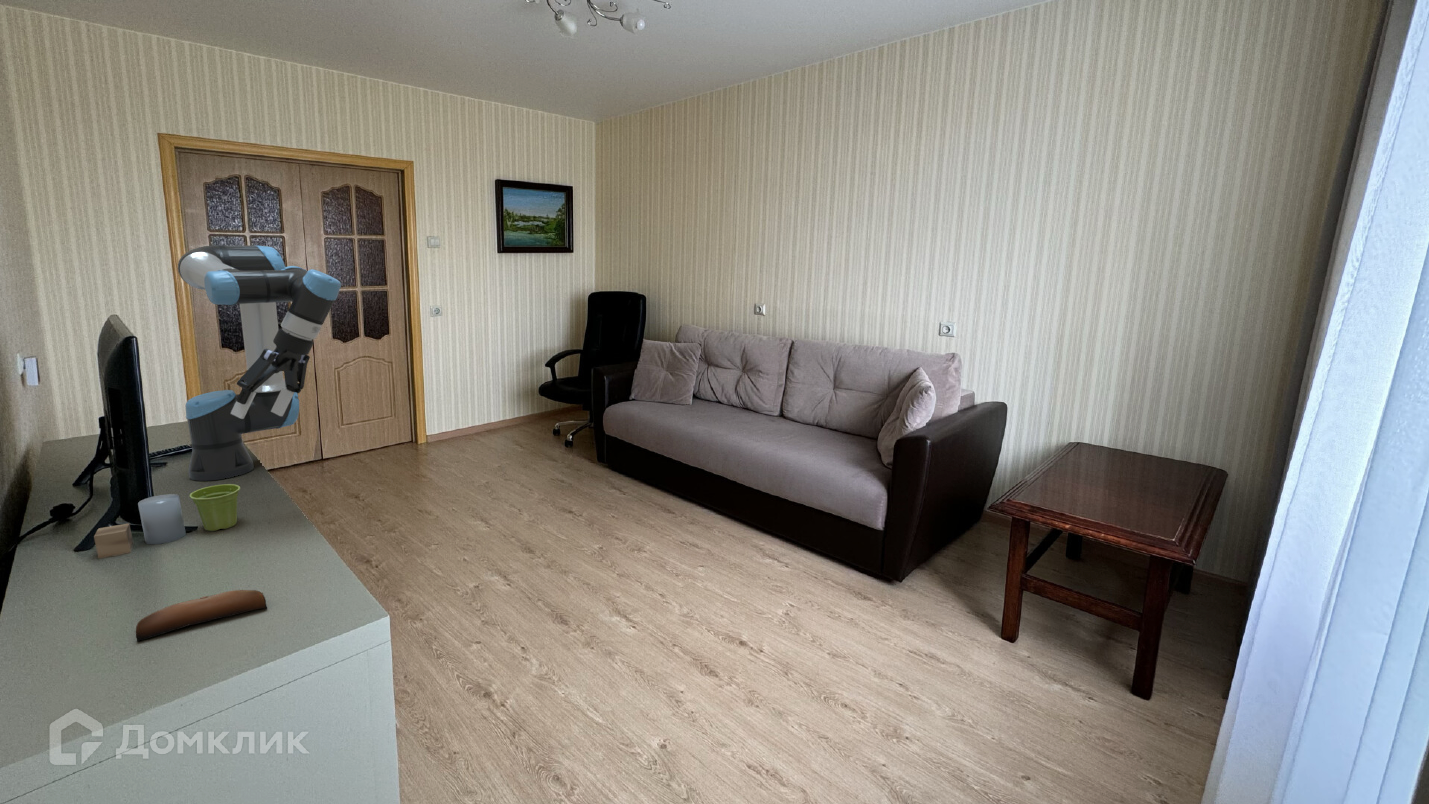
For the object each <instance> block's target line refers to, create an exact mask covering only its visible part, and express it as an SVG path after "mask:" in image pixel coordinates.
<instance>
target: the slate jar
mask: <svg viewBox="0 0 1429 804" xmlns="http://www.w3.org/2000/svg"><path fill="white" fill-rule="evenodd" d="M137 506H138V511H139V516H140V520H141V526H142V530H143V536H144V540H145V541H144V542H145V543H146V544H147V545H159V544H160V545H162V544H166V543H170V542H174V541H178V540H179V539H182V538H184V537H185V536H186V534H187V533H186V529H185V528H186V527H185V521H184V516H183V511H182V505H181V500H180V495H179V494H176V493H175V494H174V493H169V494H160V495H154V496H149V497H147V498H144V499H142V500H139V502H138V503H137Z"/></svg>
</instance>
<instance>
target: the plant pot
mask: <svg viewBox="0 0 1429 804" xmlns="http://www.w3.org/2000/svg"><path fill="white" fill-rule="evenodd" d="M240 491H241V486H240V485H238V484H232V483H227V484H226V483H225V484H216V485H210V486H206V487H202V488H199V489H197V490H195V491H192V492H191V493H190V494H189V498H190V499H191V500H192V501H193V503H194V504H195V506H196V508H197V511H198V513H199V517H200V520H201V524H202V525H203V528H204V530H205V531H209V532H210V531H211V532H212V531H214V532H215V531H218V530H220V529H223V530H225V529H230V528H232V527H235V525H237V521H238V520H237V519H238V518H237V517H238V512H237V511H238V510H237V509H238V496H239V492H240Z"/></svg>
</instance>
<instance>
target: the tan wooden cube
mask: <svg viewBox="0 0 1429 804" xmlns="http://www.w3.org/2000/svg"><path fill="white" fill-rule="evenodd" d="M93 539H94V543H95V544H94V545H95V547H96V551H97V558H98V559H103V558H109V556H110V557H115V556H121V555H125V554H124V553H126V554H130V553H131V551H132V549H133V547H134V540H133V539H134V538H133V535H132V529H131V525H130V523H124V524H118V525H110V526H105V527H100V528H98V529H97V530H96V532H95V534H94V536H93Z"/></svg>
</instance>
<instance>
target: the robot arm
mask: <svg viewBox="0 0 1429 804" xmlns="http://www.w3.org/2000/svg"><path fill="white" fill-rule="evenodd" d="M177 271H178V274H179V277H180V278H181V279H182V281H183V282H184V283H186V284H188V286H190V287H193V288H195V289H198V290H203V291H204V290H205V294H206V296H207V298H208V300H209V302H210V303H211V304H214V305H226V306H233V305H239V310H240V319H241V328H242V336H243V337H242V338H243V344H244V353H245V362H246V371H245V373H244V374H242V376H241V377H240V378H239V379H238V380H237V381H236V386H238V387H239V388H241V391H240V393H238V394H236V392H235V391H234V390H232V389H223V390H216V391H215V390H214V391H209V392H206V393H205V392H204V393H202V394H199V395H195V396H193V397H191V398H189V399H188V400H187V401H186V402H185V418H186V420H187V425H188V426H187V427H188V431H189V437H190V444H191V448H192V450H191V451H192V452H191V457H190V460H189V465H188V468H187V469H188V478H189V479H190V478H191V479H190V480H192V481H200V482H205V481H207V482H208V481H218V480H223V479H224V480H225V478H226V479H229V478H231V479H232V478H234V476H235V477H238V475H239V476H242V475H244V474H245V475H246V474H247V473H249V472H251V471H252V470H253V469H254V461H253V459H252V457H251V456H250V455H251V454H249V452H248V450H247V449H246V447H245V445H244V442H243V439H242V438H243V437H242V434H243V435H244V434H249V433H255V432H262V431H269V430H274V429H277V430H279V429H282V428H285V427H289V426H293V425H295V423H296V421H297V420H298V419H299V414H300V400H299V394H300V393H301V391H302V390H303V389H304V387H305V381H306V374H307V368H308V363H309V360H310V358H311V356H310V355H309V353H310V351H311V350H312V348H313V346H314V345H315V344H314V340H315V339H316V338H318V335H319V333H320V332H321V328H322V327H323V325H324V324H325V321H326V319H327V316H328V315H329V313H330V311H331V309H332V307H333V305H334V303H335V302H336V300H337V298H338V296H339V293H340V290H341V287H342V283H341V281H339V280H338V279H336V278H335V277H333V276H331V275H329V274H326V273H325V272H322V271H320V270H316V269H314V268H313V269H312V268H311V269H308V270H306V269H304V268H302V267H300V266H297V265H288V266H286V265H285V262H284V260H283V258H282V256H281V254H280V252H279V251H277V249H276V248H274V247H272V246H268V245H267V246H265V245H254V244H253V245H249V244H248V245H204V246H199V247H195V248H193V249H190V250H189V251H187V252H185V253H184V254H183V255H182V256H180V257H179V260H178V263H177ZM277 303H290V306H289V307H288V310H287V312H286V314H285V315H284V318H283V319H282V321H281V323H280V326H281V328H279V322H278V312H277V311H278V310H277Z"/></svg>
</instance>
